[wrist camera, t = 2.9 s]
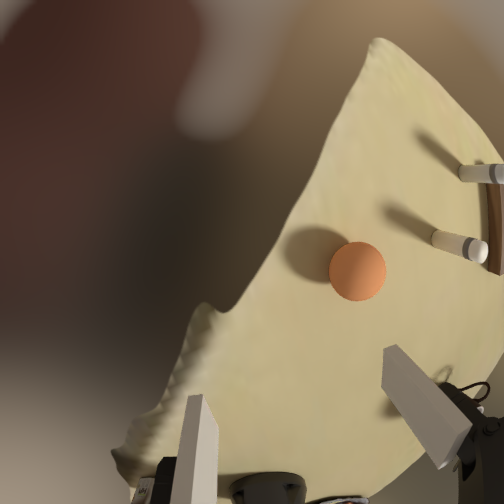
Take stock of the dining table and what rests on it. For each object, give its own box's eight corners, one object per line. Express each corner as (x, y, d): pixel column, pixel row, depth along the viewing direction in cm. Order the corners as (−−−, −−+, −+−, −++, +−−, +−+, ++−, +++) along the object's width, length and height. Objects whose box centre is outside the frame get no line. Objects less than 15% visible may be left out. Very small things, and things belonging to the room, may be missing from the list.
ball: (325, 295, 30) (344, 317, 24) (317, 243, 28) (337, 256, 23) (371, 282, 30) (397, 300, 24) (366, 232, 28) (395, 241, 23)
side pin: (459, 183, 28) (504, 185, 20) (456, 165, 27) (501, 163, 19) (469, 181, 28) (512, 183, 20) (466, 164, 27) (509, 163, 19)
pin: (431, 250, 30) (475, 266, 21) (430, 231, 29) (476, 243, 21) (443, 246, 30) (487, 260, 21) (443, 227, 29) (488, 239, 21)
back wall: (487, 271, 31) (500, 275, 28) (484, 171, 28) (498, 171, 25) (493, 267, 31) (505, 272, 28) (490, 171, 28) (503, 171, 25)
